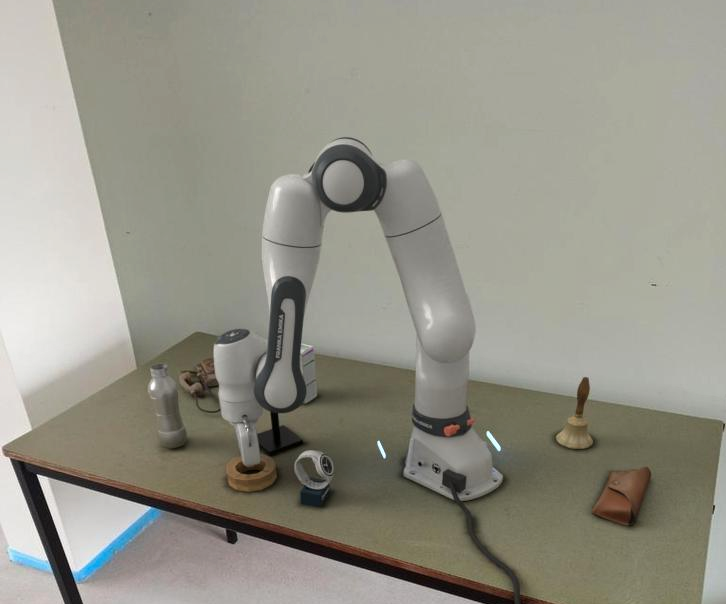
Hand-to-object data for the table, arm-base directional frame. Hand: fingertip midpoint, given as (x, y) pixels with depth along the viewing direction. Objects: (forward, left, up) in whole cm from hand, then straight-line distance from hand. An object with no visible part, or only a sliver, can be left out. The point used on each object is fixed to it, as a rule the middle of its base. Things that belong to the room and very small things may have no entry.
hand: (248, 461), depth 148 cm
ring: (-4, +2, -2) cm, 5 cm away
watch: (-19, -5, -2) cm, 20 cm away
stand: (+6, -10, -2) cm, 12 cm away
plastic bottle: (+20, +10, -2) cm, 22 cm away
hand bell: (-36, -66, -2) cm, 76 cm away
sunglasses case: (-57, -55, -2) cm, 80 cm away
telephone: (+43, -10, -2) cm, 44 cm away
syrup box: (+22, -27, -2) cm, 35 cm away
